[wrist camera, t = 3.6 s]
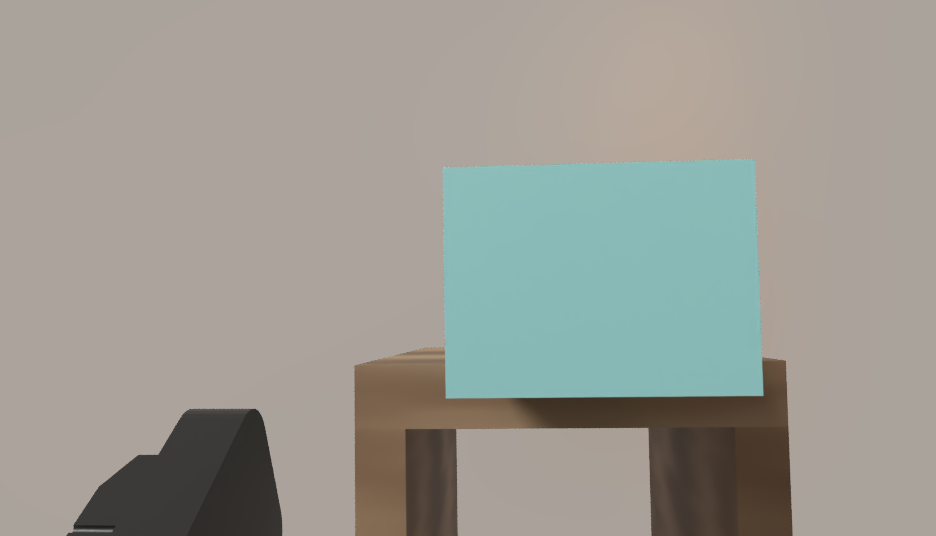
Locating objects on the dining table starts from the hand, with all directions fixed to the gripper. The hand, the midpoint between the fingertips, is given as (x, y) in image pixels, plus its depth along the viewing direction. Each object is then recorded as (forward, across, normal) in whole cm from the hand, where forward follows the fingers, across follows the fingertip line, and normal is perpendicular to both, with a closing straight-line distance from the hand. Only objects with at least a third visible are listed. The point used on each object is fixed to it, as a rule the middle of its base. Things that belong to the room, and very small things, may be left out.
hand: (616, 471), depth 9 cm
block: (+11, 0, +6) cm, 12 cm away
